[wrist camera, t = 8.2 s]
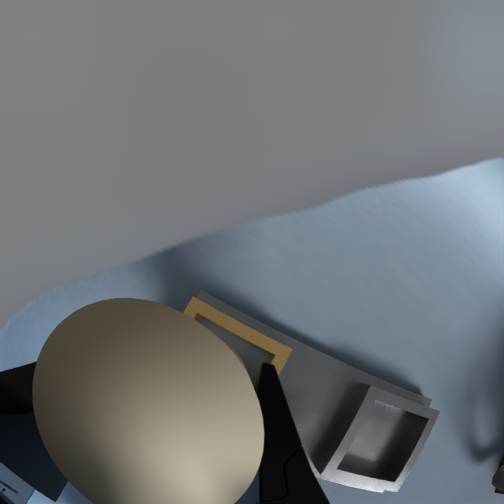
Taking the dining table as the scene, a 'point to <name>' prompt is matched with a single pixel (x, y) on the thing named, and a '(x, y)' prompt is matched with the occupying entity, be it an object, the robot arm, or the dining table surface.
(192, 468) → the peg
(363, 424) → the grey socket board
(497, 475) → the mug
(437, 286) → the dining table surface
